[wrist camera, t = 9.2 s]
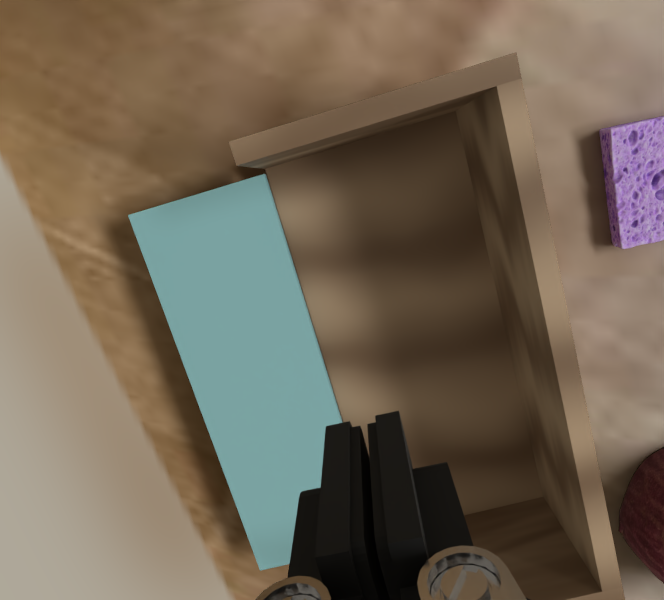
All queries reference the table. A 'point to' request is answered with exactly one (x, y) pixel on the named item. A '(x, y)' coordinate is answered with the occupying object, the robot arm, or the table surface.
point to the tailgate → (245, 349)
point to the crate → (451, 308)
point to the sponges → (634, 181)
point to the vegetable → (646, 513)
